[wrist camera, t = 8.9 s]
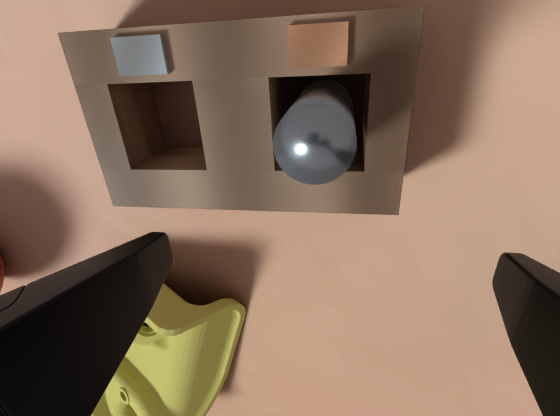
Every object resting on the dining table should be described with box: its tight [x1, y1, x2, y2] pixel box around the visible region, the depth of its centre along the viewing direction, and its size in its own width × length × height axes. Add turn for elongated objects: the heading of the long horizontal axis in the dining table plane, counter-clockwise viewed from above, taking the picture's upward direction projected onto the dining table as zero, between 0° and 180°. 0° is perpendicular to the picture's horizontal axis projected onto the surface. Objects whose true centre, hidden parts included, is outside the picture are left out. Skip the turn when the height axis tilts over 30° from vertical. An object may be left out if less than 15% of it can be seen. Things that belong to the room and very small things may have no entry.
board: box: [58, 6, 424, 215], centre depth 18 cm, size 16×9×4 cm, turn 93°
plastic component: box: [91, 283, 246, 416], centre depth 30 cm, size 20×7×10 cm
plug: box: [273, 80, 357, 185], centre depth 16 cm, size 3×3×7 cm
